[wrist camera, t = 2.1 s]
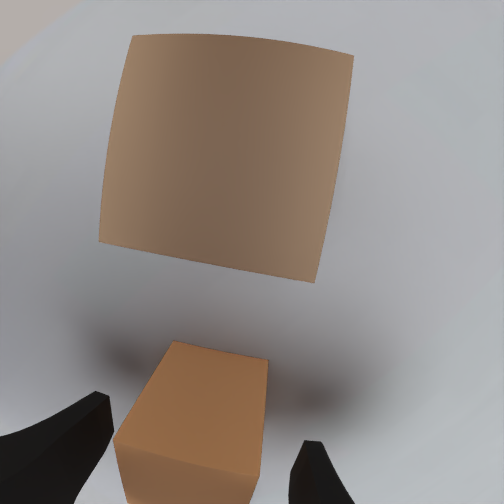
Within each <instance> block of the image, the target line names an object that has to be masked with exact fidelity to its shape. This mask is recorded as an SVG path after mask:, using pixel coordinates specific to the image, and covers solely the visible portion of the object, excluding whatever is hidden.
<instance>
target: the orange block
mask: <svg viewBox="0 0 504 504" xmlns="http://www.w3.org/2000/svg"><path fill="white" fill-rule="evenodd" d="M268 361H269V360H266V359H260V358H254V357H249V356H243V355H238V354H233V353H228V352H223V351H218V350H213V349H209V348H204V347H199V346H195V345H191V344H186V343H182V342H178V341H173V342H172V344H171V345H170V347H169V349H168V350H167V352H166V353H165V355H164V357H163V358H162V360H161V361H160V363H159V365H158V366H157V368H156V369H155V371H154V373H153V374H152V376H151V378H150V379H149V381H148V382H147V384H146V386H145V387H144V389H143V391H142V392H141V394H140V395H139V397H138V399H137V400H136V402H135V404H134V405H133V407H132V409H131V410H130V412H129V414H128V415H127V417H126V418H125V420H124V422H123V423H122V425H121V427H120V428H119V430H118V432H117V433H116V435H115V437H114V438H113V442H114V448H115V453H116V458H117V462H118V467H119V471H120V476H121V480H122V484H123V488H124V492H125V496H126V499H127V503H129V504H249V503H250V500H251V497H252V495H253V492H254V490H255V487H256V484H257V481H258V479H259V476H260V465H261V453H262V441H263V429H264V416H265V403H266V389H267V375H268Z"/></svg>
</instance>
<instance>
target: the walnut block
mask: <svg viewBox="0 0 504 504" xmlns="http://www.w3.org/2000/svg"><path fill="white" fill-rule="evenodd" d="M353 60H354V56H353V55H350V54H346V53H341V52H337V51H333V50H328V49H324V48H319V47H314V46H309V45H303V44H297V43H291V42H285V41H278V40H271V39H263V38H254V37H244V36H231V35H214V34H152V35H135V36H132V40H131V43H130V46H129V50H128V54H127V57H126V61H125V65H124V69H123V73H122V77H121V81H120V86H119V90H118V95H117V100H116V104H115V109H114V115H113V120H112V125H111V131H110V137H109V143H108V150H107V157H106V164H105V172H104V181H103V190H102V201H101V213H100V227H99V242H102V243H107V244H111V245H116V246H121V247H126V248H131V249H136V250H141V251H146V252H151V253H156V254H161V255H166V256H171V257H176V258H181V259H186V260H191V261H196V262H202V263H207V264H212V265H217V266H223V267H228V268H233V269H238V270H244V271H249V272H255V273H260V274H266V275H271V276H277V277H282V278H288V279H293V280H299V281H305V282H310V283H315V278H316V274H317V270H318V265H319V261H320V256H321V252H322V247H323V243H324V238H325V233H326V228H327V224H328V219H329V214H330V209H331V203H332V198H333V193H334V188H335V182H336V177H337V171H338V165H339V160H340V154H341V148H342V141H343V135H344V129H345V122H346V115H347V108H348V101H349V93H350V86H351V78H352V69H353Z"/></svg>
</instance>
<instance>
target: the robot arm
mask: <svg viewBox="0 0 504 504" xmlns="http://www.w3.org/2000/svg"><path fill="white" fill-rule="evenodd" d="M113 433H114V426H113V419H112V413H111V405H110V397H109V396H108V395H105V394H103V393H100V392H97V391H94V392H93V393H91V394H89V395H88V396H86V397H84V398H83V399H81V400H79V401H78V402H76V403H74V404H73V405H71V406H69V407H67V408H66V409H64V410H62V411H60V412H58V413H57V414H55V415H53V416H51V417H49V418H47V419H45V420H43V421H41V422H39V423H37V424H35V425H33V426H30V427H28V428H25V429H23V430H20V431H17V432H14V433H11V434H8V435H4V436H0V504H74V502H75V500H76V497H77V496H78V494H79V492H80V490H81V489H82V487H83V485H84V484H85V482H86V481H87V479H88V478H89V476H90V475H91V473H92V471H93V470H94V468H95V467H96V465H97V464H98V462H99V460H100V459H101V457H102V456H103V454H104V453H105V451H106V449H107V446H108V444H109V442H110V440H111V438H112V435H113ZM288 496H289V504H355V503H354V501H353V500H352V498H351V497H350V495H349V494H348V492H347V490H346V489H345V487H344V485H343V484H342V482H341V480H340V478H339V477H338V475H337V473H336V471H335V469H334V467H333V465H332V463H331V461H330V459H329V457H328V454H327V452H326V450H325V448H324V445H323V444H322V442H319V441H307V440H304V442H303V445H302V447H301V449H300V452H299V454H298V456H297V458H296V461H295V463H294V465H293V467H292V469H291V472H290V482H289V494H288Z"/></svg>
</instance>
